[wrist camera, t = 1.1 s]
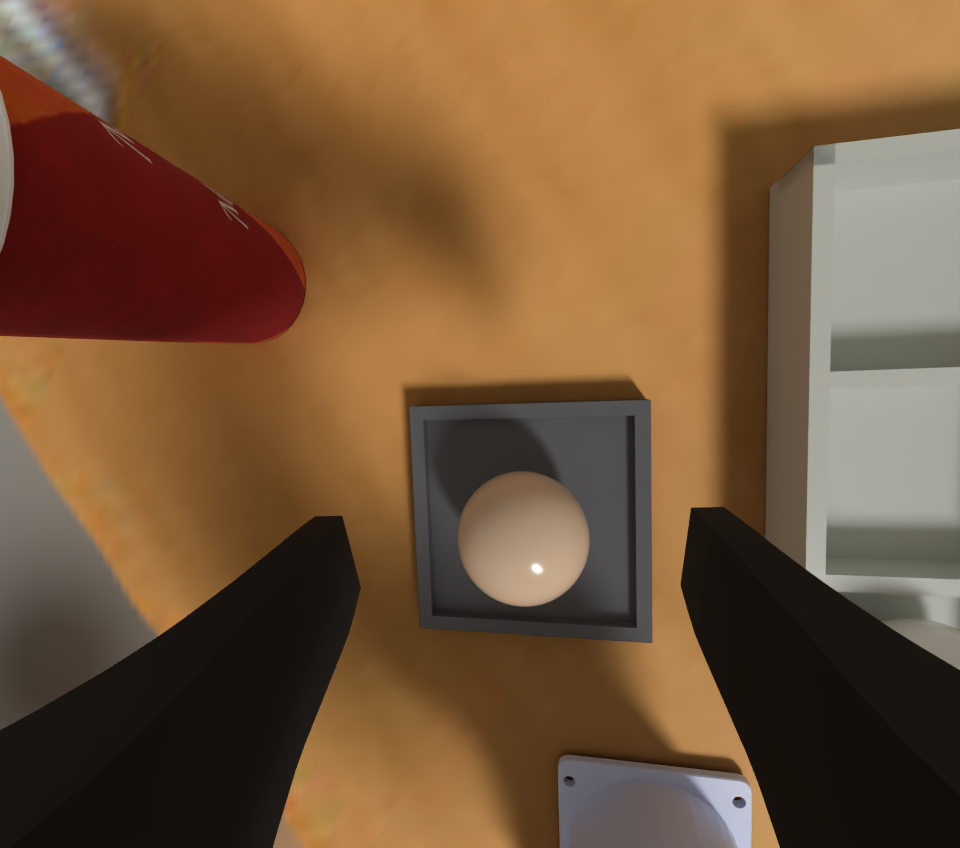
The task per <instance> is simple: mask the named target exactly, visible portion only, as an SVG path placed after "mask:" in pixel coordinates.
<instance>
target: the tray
mask: <svg viewBox="0 0 960 848" xmlns="http://www.w3.org/2000/svg"><path fill="white" fill-rule="evenodd" d="M765 539H767V540H768V541H769V542H770V543H772V544H773V545H774V546H776V547H777V548H778V549H780V550H781V551H782V552H784V553H785V554H786V555H788V556H789V557H790V558H792V559H793V560H794V561H796V562H797V563H798V564H800V565H801V566H802V567H804V568H805V569H806V570H808V571H809V572H810V573H812V574H813V575H814V576H816V577H817V578H819V579H820V580H821V581H823V582H824V583H826V584H827V585H828V586H830V587H831V588H833V589H834V590H835V591H837V592H838V593H840V594H841V595H843V596H844V597H845V598H847V599H848V600H850V601H851V602H853V603H854V604H856V605H857V606H859V607H860V608H862V609H863V610H865V611H866V612H868V613H869V614H871V615H872V616H874V617H875V618H877V619H878V620H880V621H883V620H887V619H894V618H917V619H925V620H930V621H934V622H939V623H943V624H946V625H949V626H952V627H954V628H957V629H960V129H953V130H945V131H936V132H928V133H920V134H911V135H903V136H894V137H886V138H878V139H869V140H861V141H852V142H844V143H836V144H827V145H819V146H813V147H812V148H811V149H810V150H809V151H808V152H807V153H806V154H805V155H804V156H803V157H802V158H801V159H800V160H799V161H798V162H797V163H796V164H795V165H794V166H793V167H792V168H791V169H790V170H789V171H788V172H787V173H786V174H785V175H784V176H783V177H782V178H781V179H778V180H777V181H776V182H775V183H774V184H773V185H772V186H771V187H770V206H769V287H768V369H767V450H766V532H765Z"/></svg>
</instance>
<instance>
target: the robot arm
mask: <svg viewBox="0 0 960 848" xmlns="http://www.w3.org/2000/svg"><path fill="white" fill-rule="evenodd" d="M360 588H361V587H360V583H359V579H358V575H357V571H356V567H355V563H354V560H353V556H352V552H351V548H350V544H349V540H348V536H347V532H346V529H345V525H344V521H343V517H342V516H317V517H314V518H312V519H311V520H310V521H308V522H307V523H306V524H304V525H303V526H302V527H300V528H299V529H298V530H297V531H295V532H294V533H293V534H292V535H290V536H289V537H288V538H287V539H285V540H284V541H283V542H282V543H281V544H279V545H278V546H277V547H276V548H274V549H273V550H272V551H271V552H269V553H268V554H267V555H266V556H265V557H263V558H262V559H261V560H260V561H258V562H257V563H256V564H255V565H253V566H252V567H251V568H250V569H248V570H247V571H246V572H245V573H243V574H242V575H241V576H240V577H238V578H237V579H236V580H235V581H233V582H232V583H231V584H229V585H228V586H227V587H225V588H224V589H223V590H221V591H220V592H219V593H217V594H216V595H215V596H213V597H212V598H211V599H209V600H208V601H207V602H205V603H204V604H203V605H201V606H200V607H199V608H197V609H196V610H195V611H193V612H192V613H191V614H189V615H188V616H187V617H185V618H184V619H183V620H181V621H180V622H178V623H177V624H176V625H174V626H173V627H171V628H170V629H168V630H167V631H165V632H164V633H163V634H161V635H160V636H158V637H157V638H155V639H154V640H152V641H151V642H149V643H148V644H146V645H145V646H143V647H141V648H140V649H138V650H137V651H136V652H134V653H132V654H131V655H129V656H128V657H126V658H124V659H123V660H121V661H120V662H118V663H117V664H115V665H113V666H112V667H110V668H109V669H107V670H106V671H104V672H102V673H100V674H99V675H97V676H95V677H94V678H92V679H90V680H88V681H87V682H85V683H84V684H81V685H80V686H78V687H76V688H75V689H73V690H71V691H69V692H68V693H66V694H64V695H63V696H61V697H59V698H57V699H56V700H54V701H52V702H51V703H49V704H47V705H45V706H44V707H42V708H40V709H39V710H37V711H35V712H33V713H31V714H30V715H28V716H26V717H24V718H22V719H20V720H19V721H17V722H15V723H13V724H11V725H9V726H7V727H6V728H3V729H2V730H0V848H273V844H274V841H275V837H276V834H277V830H278V827H279V823H280V820H281V817H282V814H283V810H284V807H285V804H286V800H287V797H288V794H289V790H290V787H291V784H292V780H293V777H294V774H295V771H296V768H297V765H298V762H299V759H300V756H301V754H302V751H303V748H304V745H305V742H306V740H307V737H308V735H309V732H310V730H311V727H312V725H313V722H314V720H315V717H316V715H317V713H318V710H319V708H320V705H321V703H322V700H323V698H324V695H325V693H326V690H327V688H328V685H329V683H330V680H331V678H332V675H333V673H334V670H335V668H336V665H337V663H338V660H339V657H340V655H341V652H342V650H343V647H344V645H345V642H346V639H347V637H348V634H349V631H350V627H351V624H352V620H353V616H354V613H355V609H356V605H357V601H358V596H359V592H360ZM681 588H682V592H683V595H684V599H685V603H686V606H687V610H688V613H689V616H690V620H691V623H692V626H693V629H694V632H695V635H696V638H697V640H698V642H699V645H700V647H701V650H702V652H703V654H704V657H705V659H706V661H707V664H708V666H709V668H710V671H711V673H712V675H713V678H714V680H715V682H716V684H717V687H718V689H719V691H720V694H721V696H722V698H723V700H724V703H725V705H726V707H727V710H728V712H729V714H730V716H731V719H732V721H733V723H734V726H735V728H736V730H737V733H738V735H739V737H740V739H741V742H742V744H743V746H744V749H745V751H746V753H747V756H748V758H749V761H750V763H751V766H752V768H753V771H754V773H755V776H756V779H757V781H758V784H759V787H760V789H761V792H762V795H763V798H764V801H765V804H766V807H767V810H768V813H769V816H770V819H771V822H772V825H773V828H774V831H775V834H776V837H777V840H778V843H779V846H780V848H960V670H959V669H957V668H956V667H954V666H952V665H951V664H949V663H947V662H946V661H944V660H942V659H941V658H939V657H937V656H936V655H934V654H932V653H931V652H929V651H927V650H925V649H924V648H922V647H920V646H919V645H917V644H915V643H914V642H912V641H911V640H909V639H908V638H906V637H904V636H903V635H901V634H900V633H898V632H896V631H895V630H893V629H892V628H890V627H889V626H887V625H886V624H884V623H883V622H881V621H880V620H878V619H877V618H875V617H874V616H872V615H871V614H869V613H868V612H866V611H865V610H863V609H862V608H860V607H859V606H857V605H856V604H854V603H853V602H851V601H850V600H848V599H847V598H845V597H844V596H843V595H841V594H840V593H838V592H837V591H835V590H834V589H833V588H831V587H830V586H828V585H827V584H826V583H824V582H823V581H821V580H820V579H819V578H817V577H816V576H814V575H813V574H812V573H810V572H809V571H808V570H806V569H805V568H804V567H802V566H801V565H800V564H798V563H797V562H796V561H794V560H793V559H792V558H790V557H789V556H788V555H786V554H785V553H784V552H782V551H781V550H780V549H778V548H777V547H776V546H774V545H773V544H772V543H770V542H769V541H768V540H767V539H765V538H764V537H763V536H761V535H760V534H759V533H757V532H756V531H755V530H754V529H752V528H751V527H750V526H748V525H747V524H746V523H744V522H743V521H742V520H740V519H739V518H738V517H736V516H735V515H734V514H732V513H731V512H730V511H728V510H727V509H725V508H724V507H705V508H691V513H690V520H689V527H688V535H687V542H686V549H685V557H684V564H683V571H682V578H681ZM566 776H571V777H573V778H574V779H573V780H568V779H566V778H565V777H566ZM558 795H559V836H560V848H751V829H752V790H751V787H750V784H749V782H748V780H747V779H746V778H745V777H744V776H742V775H740V774H737V773H728V772H719V771H710V770H701V769H692V768H683V767H674V766H666V765H657V764H648V763H639V762H630V761H621V760H612V759H603V758H594V757H585V756H576V755H564V756H562V757H561V758H560V759H559V761H558ZM735 797H742V798H741V799H740V800H734V798H735Z"/></svg>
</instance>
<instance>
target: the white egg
mask: <svg viewBox="0 0 960 848" xmlns="http://www.w3.org/2000/svg"><path fill="white" fill-rule="evenodd" d="M881 622H883V623H884V624H886V625H887V626H889V627H890V628H892V629H893V630H895V631H896V632H898V633H900V634H901V635H903V636H904V637H906V638H908V639H909V640H911V641H912V642H914V643H915V644H917V645H919V646H920V647H922V648H924V649H925V650H927V651H929V652H931V653H932V654H934V655H936V656H937V657H939V658H941V659H942V660H944V661H946V662H947V663H949V664H951V665H952V666H954V667H956V668H957V669H959V670H960V629H957V628H954V627H952V626H949V625H946V624H943V623H939V622H934V621H930V620H925V619H917V618H894V619H887V620H883V621H881Z"/></svg>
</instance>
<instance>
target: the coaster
mask: <svg viewBox="0 0 960 848" xmlns="http://www.w3.org/2000/svg"><path fill="white" fill-rule="evenodd" d="M409 411H410V432H411V453H412V474H413V495H414V516H415V537H416V558H417V579H418V600H419V621H420V628H429V629H445V630H460V631H475V632H491V633H506V634H521V635H536V636H552V637H567V638H582V639H598V640H613V641H628V642H643V643H652V530H651V400H648V399H634V400H599V401H564V402H529V403H495V404H460V405H425V406H412V407H409ZM514 471H529V472H535V473H540V474H543V475H546V476H548V477H550V478H552V479H554V480H556V481H557V482H559V483H560V484H562V485H563V486H564V487H566V488H567V489H568V490H569V491H570V492H571V493H572V494H573V495H574V497H575V498H576V499H577V501H578V502H579V504H580V506H581V508H582V510H583V512H584V514H585V517H586V520H587V523H588V528H589V536H590V543H589V553H588V558H587V561H586V564H585V567H584V569H583V571H582V572H581V574H580V576H579V578H578V579H577V581H576V582H575V583H574V584H573V585H572V587H571V588H570V589H569V590H567V591H566V592H565V593H564V594H562V595H561V596H559V597H558V598H556V599H554V600H552V601H550V602H548V603H545V604H541V605H537V606H530V607H521V606H513V605H509V604H505V603H502V602H500V601H497V600H495V599H493V598H491V597H490V596H488V595H487V594H486V593H484V592H483V591H482V590H481V589H479V588H478V587H477V586H476V585H475V583H474V582H473V581H472V580H471V578H470V577H469V576H468V574H467V572H466V570H465V568H464V567H463V564H462V561H461V558H460V555H459V551H458V543H457V531H458V525H459V520H460V516H461V513H462V511H463V509H464V507H465V505H466V503H467V502H468V500H469V498H470V497H471V496H472V494H473V493H474V492H475V491H476V490H477V489H478V488H479V487H480V486H481V485H483V484H484V483H486V482H487V481H489V480H490V479H492V478H494V477H496V476H498V475H501V474H504V473H509V472H514Z"/></svg>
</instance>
